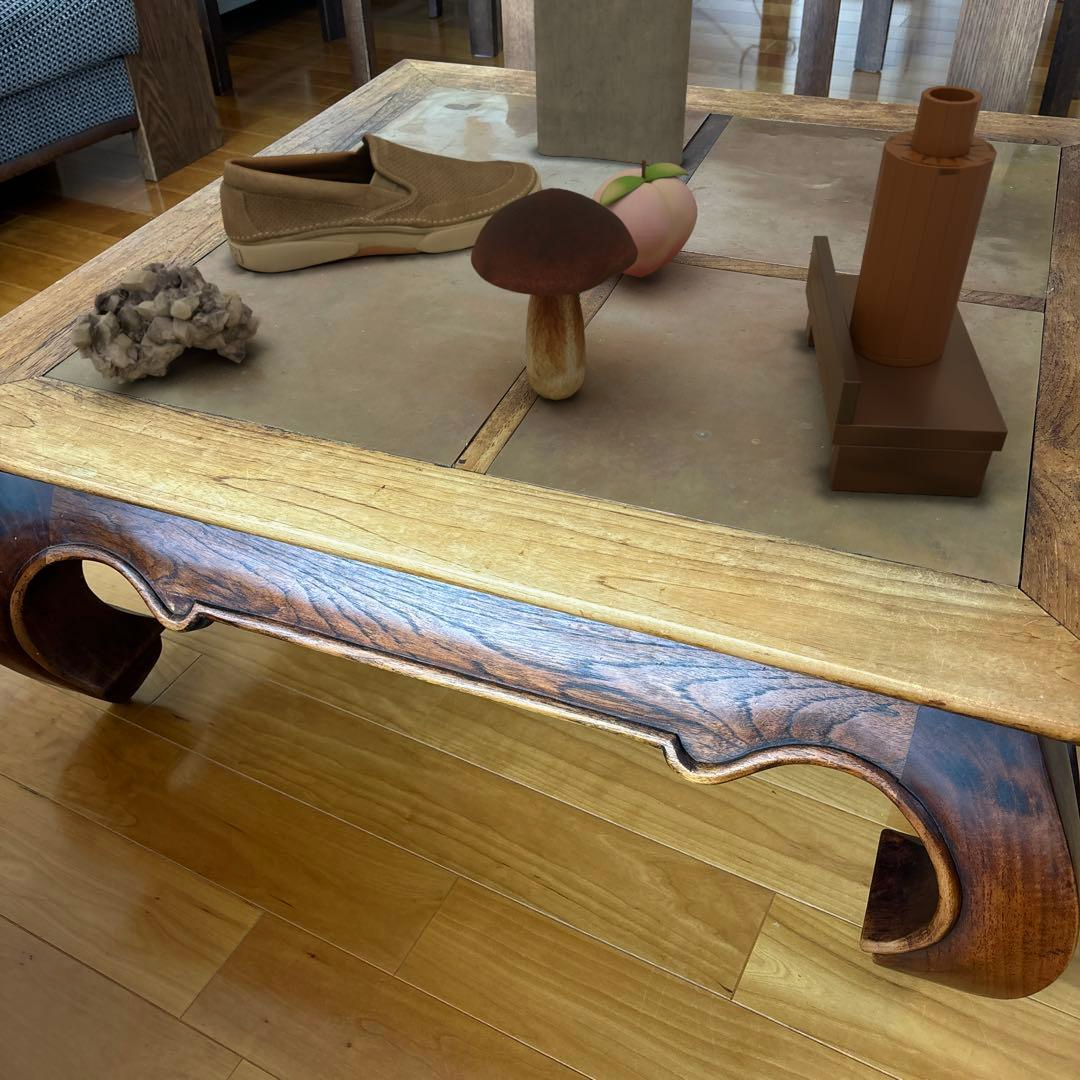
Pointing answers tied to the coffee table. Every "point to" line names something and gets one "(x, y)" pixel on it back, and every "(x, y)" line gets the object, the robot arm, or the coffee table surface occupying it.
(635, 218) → the decorative fruit
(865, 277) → the bottle
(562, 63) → the grey upright slab
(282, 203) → the slip on shoe
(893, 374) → the walnut bench
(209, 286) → the mineral specimen
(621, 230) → the decorative mushroom
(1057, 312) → the coffee table surface
